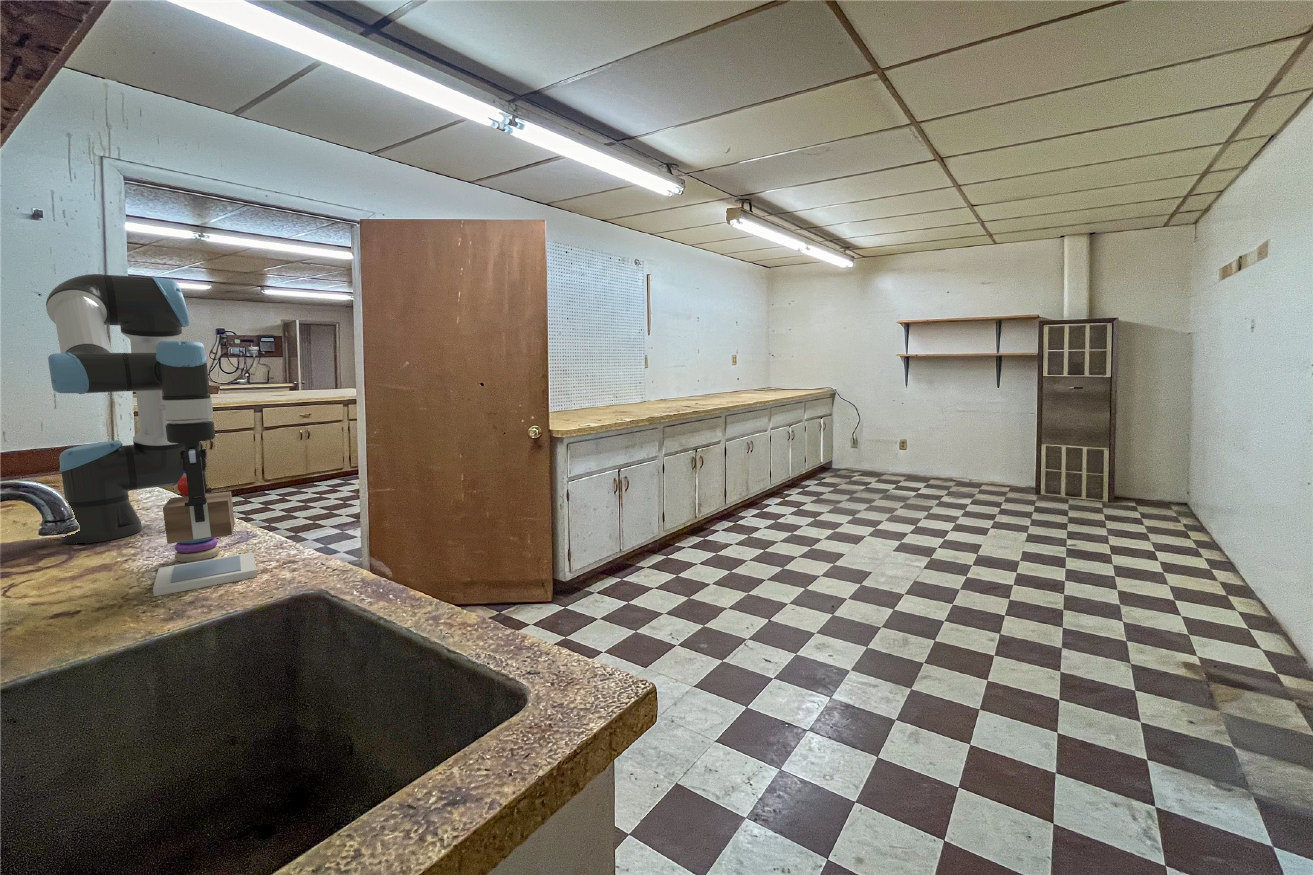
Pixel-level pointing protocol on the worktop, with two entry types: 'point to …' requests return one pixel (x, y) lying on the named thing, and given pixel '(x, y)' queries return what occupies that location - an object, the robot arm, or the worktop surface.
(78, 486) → the robot arm
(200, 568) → the baseplate
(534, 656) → the worktop surface
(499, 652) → the worktop surface
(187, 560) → the stacking toy
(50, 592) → the worktop surface
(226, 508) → the walnut block
